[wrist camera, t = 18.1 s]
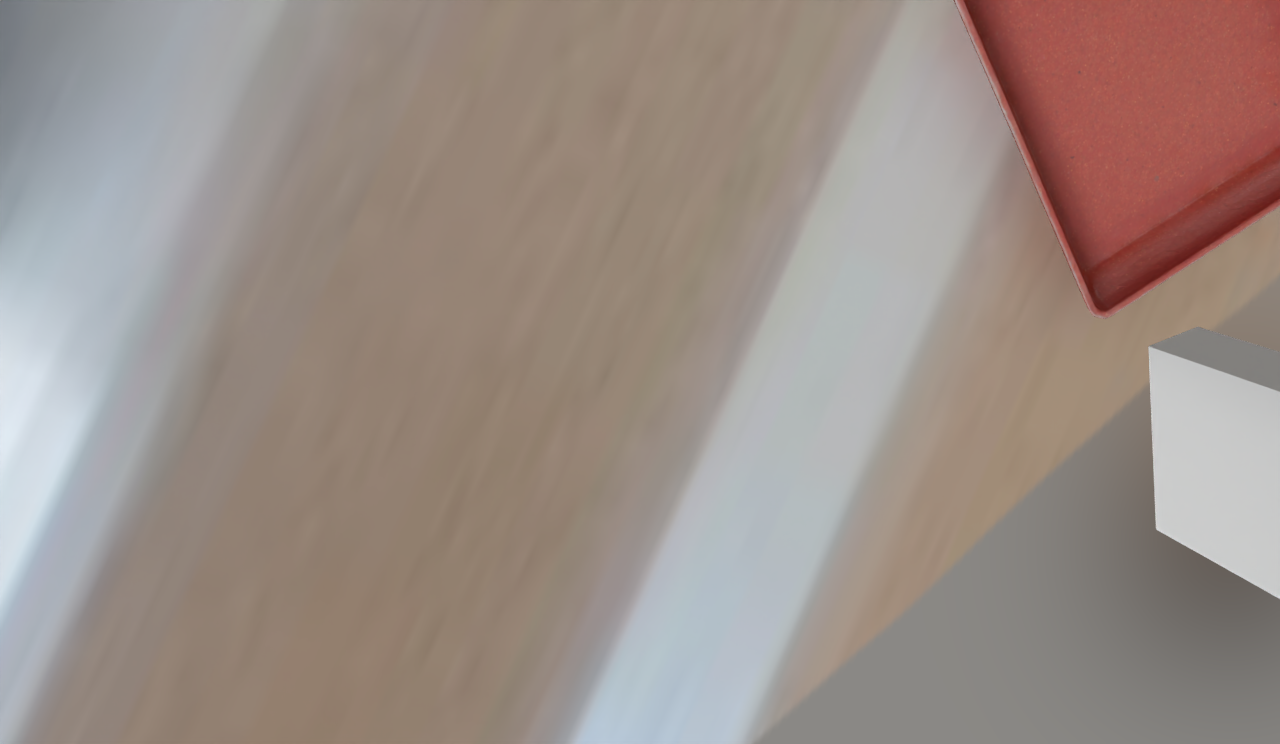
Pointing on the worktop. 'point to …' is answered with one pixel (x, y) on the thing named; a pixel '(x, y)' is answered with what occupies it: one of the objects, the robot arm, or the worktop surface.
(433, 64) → the worktop surface
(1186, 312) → the worktop surface
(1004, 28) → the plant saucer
